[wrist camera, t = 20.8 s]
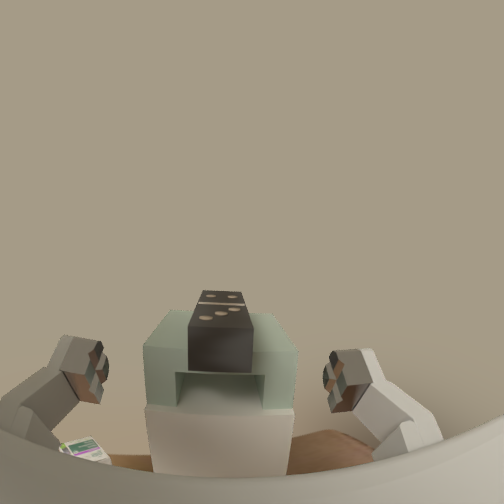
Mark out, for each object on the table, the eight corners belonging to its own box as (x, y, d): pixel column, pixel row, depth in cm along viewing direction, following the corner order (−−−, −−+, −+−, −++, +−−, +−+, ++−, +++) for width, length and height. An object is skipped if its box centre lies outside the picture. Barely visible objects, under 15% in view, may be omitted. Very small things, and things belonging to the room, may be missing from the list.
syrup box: (109, 496, 32) (90, 432, 32) (129, 517, 29) (110, 455, 28) (81, 506, 28) (55, 441, 27) (99, 529, 24) (72, 466, 24)
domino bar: (188, 370, 18) (187, 324, 18) (202, 317, 32) (203, 289, 32) (251, 372, 18) (253, 326, 18) (239, 319, 32) (241, 290, 32)
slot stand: (176, 563, 21) (139, 349, 20) (183, 500, 35) (170, 309, 34) (268, 564, 22) (301, 355, 22) (257, 502, 36) (272, 313, 36)
